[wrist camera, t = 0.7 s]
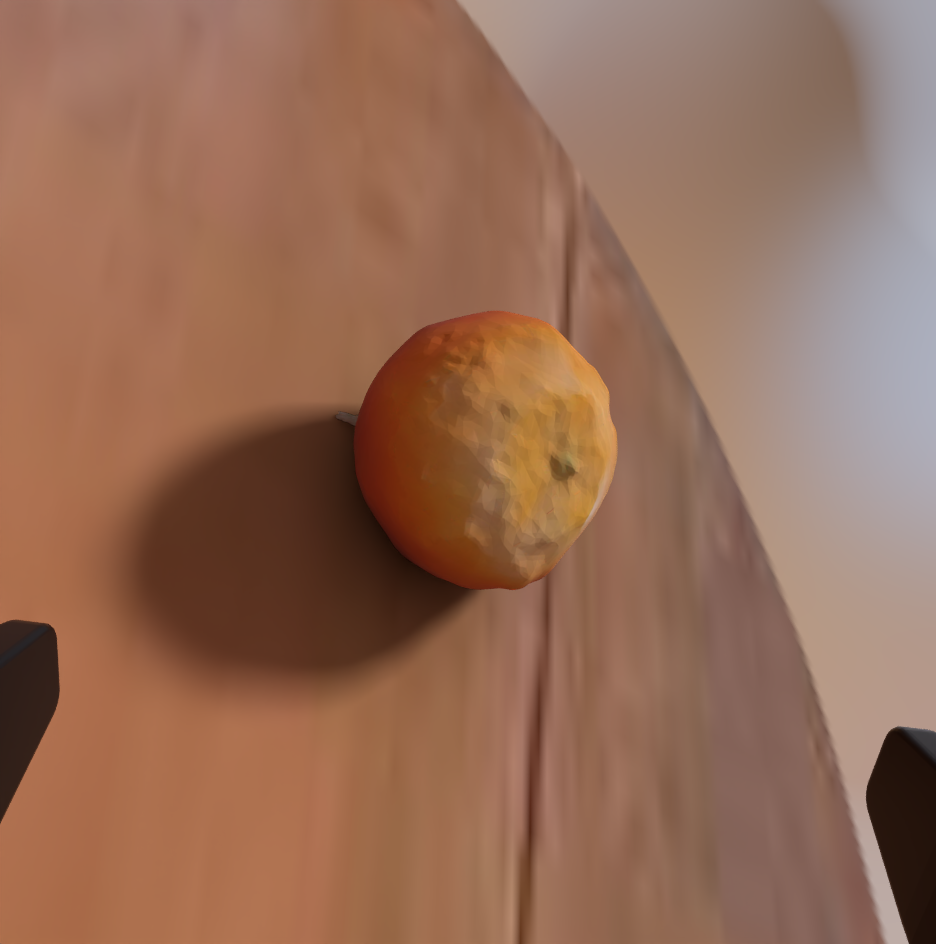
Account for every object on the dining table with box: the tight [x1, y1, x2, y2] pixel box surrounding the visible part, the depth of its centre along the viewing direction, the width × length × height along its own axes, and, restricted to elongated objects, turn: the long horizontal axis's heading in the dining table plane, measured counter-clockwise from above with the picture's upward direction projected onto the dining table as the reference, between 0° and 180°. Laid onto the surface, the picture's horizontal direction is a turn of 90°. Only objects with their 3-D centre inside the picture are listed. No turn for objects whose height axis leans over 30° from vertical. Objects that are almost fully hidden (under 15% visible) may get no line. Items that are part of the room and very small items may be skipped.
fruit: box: [336, 311, 617, 590], centre depth 25 cm, size 8×8×8 cm
